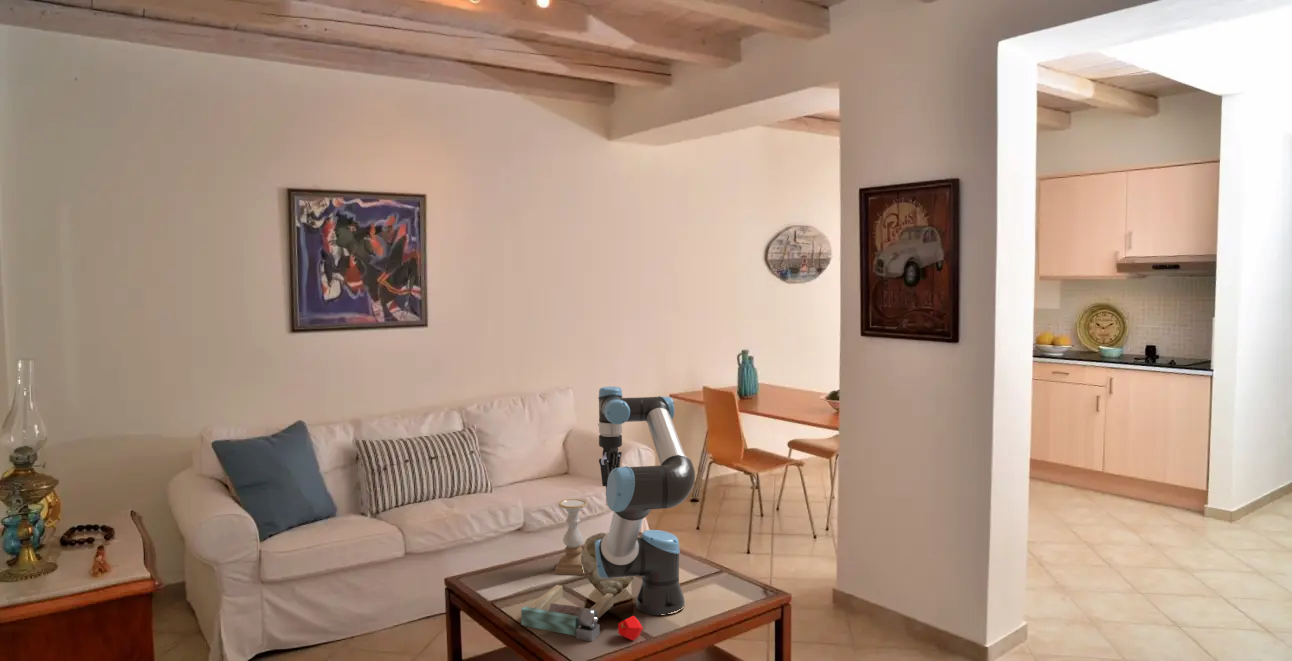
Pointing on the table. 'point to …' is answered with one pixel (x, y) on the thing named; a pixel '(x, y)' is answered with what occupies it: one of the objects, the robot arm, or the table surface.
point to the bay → (557, 621)
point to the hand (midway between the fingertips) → (610, 505)
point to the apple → (630, 628)
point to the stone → (565, 609)
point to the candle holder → (572, 539)
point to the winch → (587, 625)
